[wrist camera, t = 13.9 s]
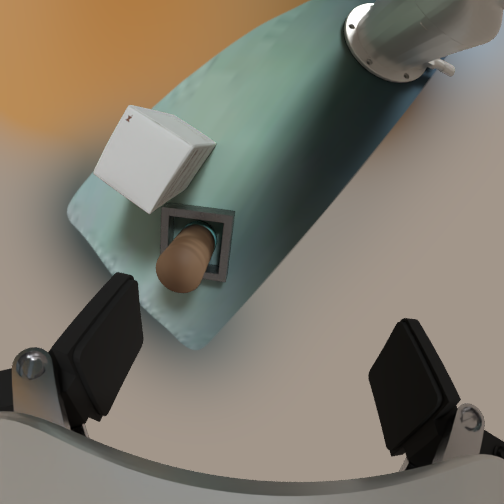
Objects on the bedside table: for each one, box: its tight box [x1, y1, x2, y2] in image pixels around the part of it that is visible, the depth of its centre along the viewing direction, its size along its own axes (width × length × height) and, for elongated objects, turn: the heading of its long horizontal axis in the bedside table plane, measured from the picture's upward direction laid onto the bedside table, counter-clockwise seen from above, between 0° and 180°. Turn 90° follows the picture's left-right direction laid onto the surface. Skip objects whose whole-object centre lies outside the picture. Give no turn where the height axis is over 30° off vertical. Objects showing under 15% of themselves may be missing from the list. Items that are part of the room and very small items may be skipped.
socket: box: [160, 203, 235, 282], centre depth 36 cm, size 9×9×2 cm
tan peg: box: [156, 221, 217, 293], centre depth 32 cm, size 5×5×10 cm
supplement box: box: [94, 105, 216, 214], centre depth 27 cm, size 7×7×13 cm
